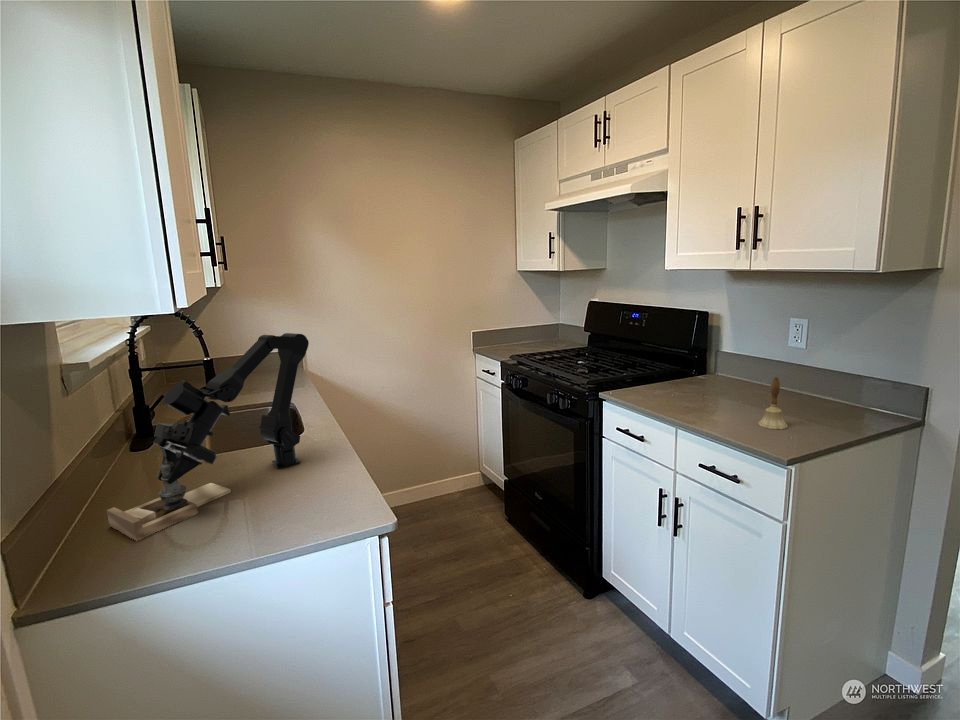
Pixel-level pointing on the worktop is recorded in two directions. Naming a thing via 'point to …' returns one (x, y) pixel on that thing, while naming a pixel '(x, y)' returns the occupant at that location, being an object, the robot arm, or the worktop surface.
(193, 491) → the cork mat
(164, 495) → the grey chess piece
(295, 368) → the robot arm
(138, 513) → the offcut upper
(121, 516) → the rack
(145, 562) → the worktop surface
